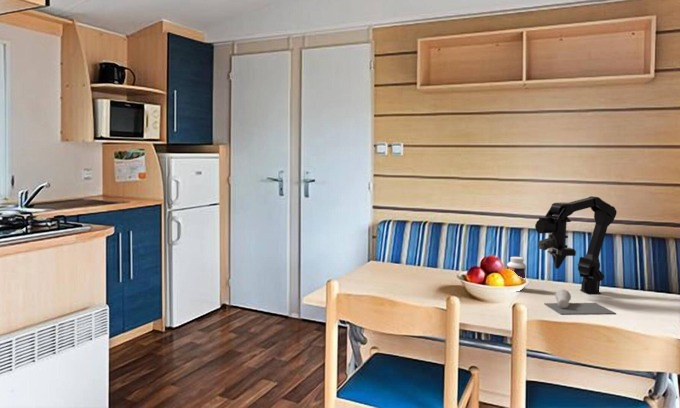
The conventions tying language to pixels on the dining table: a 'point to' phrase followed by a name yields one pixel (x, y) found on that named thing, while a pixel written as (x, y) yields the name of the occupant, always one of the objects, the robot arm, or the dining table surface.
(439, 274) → the dining table surface
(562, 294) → the salt shaker
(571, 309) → the mat
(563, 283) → the dining table surface
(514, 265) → the pill bottle
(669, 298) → the dining table surface
